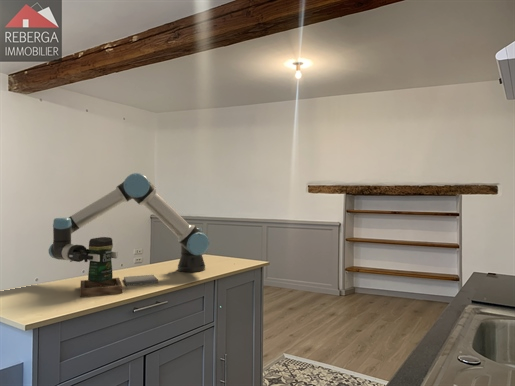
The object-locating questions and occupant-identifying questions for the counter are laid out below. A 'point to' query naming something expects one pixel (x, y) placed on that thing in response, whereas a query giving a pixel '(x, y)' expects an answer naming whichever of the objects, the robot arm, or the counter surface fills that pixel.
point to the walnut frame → (100, 290)
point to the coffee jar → (104, 266)
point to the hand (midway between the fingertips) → (108, 256)
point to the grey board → (140, 280)
